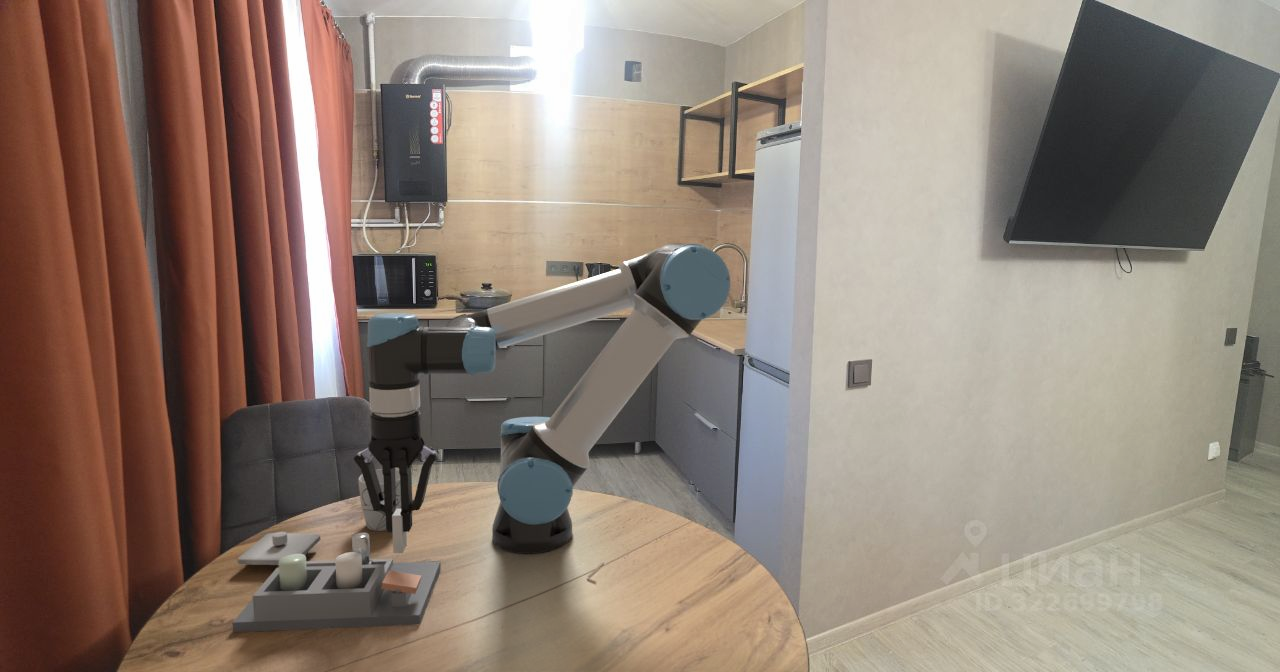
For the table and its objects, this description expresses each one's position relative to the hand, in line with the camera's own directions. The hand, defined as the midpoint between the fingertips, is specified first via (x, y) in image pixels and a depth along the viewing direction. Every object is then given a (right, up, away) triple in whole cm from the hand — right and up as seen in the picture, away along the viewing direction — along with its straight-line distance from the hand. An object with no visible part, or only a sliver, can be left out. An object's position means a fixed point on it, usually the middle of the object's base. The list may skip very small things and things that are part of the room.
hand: (400, 549), depth 108 cm
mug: (-11, -2, +23) cm, 25 cm away
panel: (-7, -6, -5) cm, 10 cm away
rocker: (+3, -3, -8) cm, 9 cm away
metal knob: (-6, -4, 0) cm, 7 cm away
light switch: (-23, -4, +6) cm, 24 cm away
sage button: (-12, -2, -10) cm, 16 cm away
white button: (-4, -2, -9) cm, 10 cm away
